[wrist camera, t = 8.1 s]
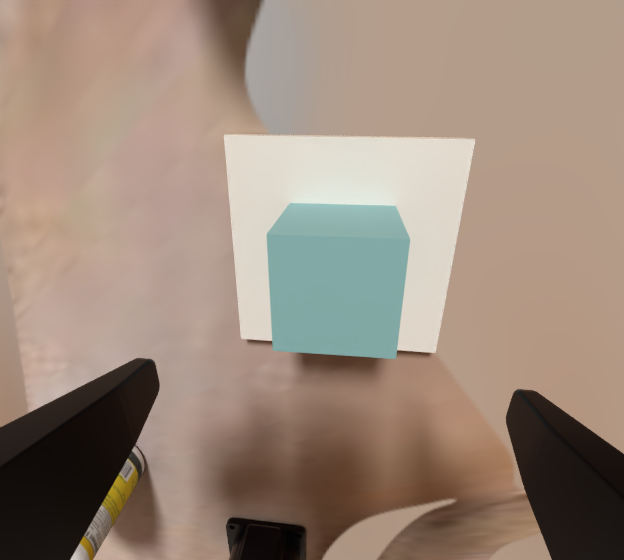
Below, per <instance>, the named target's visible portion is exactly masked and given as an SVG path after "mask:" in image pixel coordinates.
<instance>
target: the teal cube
mask: <svg viewBox="0 0 624 560" xmlns="http://www.w3.org/2000/svg"><path fill="white" fill-rule="evenodd" d="M409 246H410V237H409V235H408V233H407V230H406V228H405V226H404V224H403V221H402V219H401V217H400V214H399V212H398V210H397V207H396V206H386V205H347V204H309V203H289V205H288V206H287V208H286V209H285V210H284V212H283V213H282V214H281V216H280V217H279V218H278V220H277V221H276V222H275V224H274V225H273V226H272V228H271V229H270V230H269V232H268V233H267V252H268V271H269V290H270V308H271V327H272V345H273V351H285V352H300V353H314V354H329V355H344V356H359V357H374V358H388V359H396V354H397V346H398V338H399V329H400V321H401V313H402V304H403V296H404V288H405V279H406V271H407V263H408V254H409Z"/></svg>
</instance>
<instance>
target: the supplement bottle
mask: <svg viewBox="0 0 624 560" xmlns="http://www.w3.org/2000/svg"><path fill="white" fill-rule="evenodd" d="M143 471H144V460H143V457H142V455H141V453H140V451H139V450H138V449H137V447H136V446H134V448H133V450H132V452H131V454H130V455H129V457H128V459H127V461H126V463H125V464H124V466H123V468H122V470H121V471H120V473H119V475H118V477H117V478H116V480H115V482H114V484H113V485H112V487H111V489H110V491H109V493H108V494H107V496H106V498H105V500H104V501H103V503H102V505H101V507H100V508H99V510H98V512H97V514H96V515H95V517H94V519H93V521H92V522H91V524H90V526H89V528H88V530H87V531H86V533H85V535H84V537H83V538H82V540H81V542H80V544H79V545H78V547H77V549H76V551H75V552H74V554H73V556H72V558H71V559H70V560H93V558H94V557H95V555H96V553H97V551H98V550H99V548H100V546H101V545H102V543H103V541H104V539H105V538H106V536H107V534H108V533H109V531H110V529H111V527H112V526H113V524H114V522H115V521H116V519H117V517H118V516H119V514H120V512H121V510H122V509H123V507H124V505H125V503H126V502H127V500H128V498H129V497H130V495H131V493H132V491H133V490H134V488H135V486H136V484H137V483H138V481H139V479H140V477H141V476H142V474H143Z"/></svg>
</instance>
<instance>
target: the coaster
mask: <svg viewBox="0 0 624 560" xmlns="http://www.w3.org/2000/svg"><path fill="white" fill-rule="evenodd" d="M224 142H225V154H226V166H227V178H228V190H229V201H230V213H231V225H232V237H233V249H234V260H235V272H236V284H237V296H238V308H239V319H240V331H241V339H252V340H266V341H272V327H271V308H270V290H269V271H268V252H267V233H268V232H269V230H270V229H271V228H272V226H273V225H274V224H275V222H276V221H277V220H278V218H279V217H280V216H281V214H282V213H283V212H284V210H285V209H286V208H287V206H288V205H289V203H309V204H347V205H386V206H396V207H397V210H398V212H399V214H400V217H401V219H402V221H403V224H404V226H405V228H406V230H407V233H408V235H409V237H410V246H409V254H408V263H407V271H406V279H405V288H404V296H403V304H402V313H401V321H400V329H399V338H398V346H397V350H402V351H416V352H429V353H436V347H437V342H438V337H439V331H440V326H441V321H442V315H443V310H444V304H445V299H446V294H447V289H448V283H449V278H450V272H451V267H452V262H453V256H454V251H455V246H456V240H457V235H458V230H459V224H460V219H461V214H462V208H463V203H464V197H465V192H466V187H467V181H468V176H469V171H470V166H471V160H472V155H473V149H474V144H475V139H471V138H437V137H380V136H376V137H375V136H325V135H319V136H318V135H269V134H226V135H224Z"/></svg>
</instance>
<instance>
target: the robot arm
mask: <svg viewBox="0 0 624 560" xmlns="http://www.w3.org/2000/svg"><path fill="white" fill-rule="evenodd" d="M159 387H160V384H159V379H158V374H157V369H156V365H155V362H154V361H153V360H152V359H145V358H136V359H134V360H132V361H130V362H128V363H126V364H124V365H122V366H120V367H118V368H116V369H115V370H113V371H111V372H109V373H107V374H105V375H103V376H101V377H99V378H97V379H95V380H93V381H91V382H89V383H87V384H85V385H83V386H81V387H79V388H77V389H75V390H73V391H71V392H69V393H67V394H65V395H63V396H61V397H59V398H57V399H55V400H54V401H52V402H50V403H48V404H46V405H44V406H42V407H40V408H38V409H36V410H34V411H32V412H30V413H28V414H26V415H24V416H22V417H20V418H18V419H16V420H14V421H12V422H10V423H8V424H6V425H5V426H2V427H0V560H70V559H71V558H72V556H73V554H74V552H75V551H76V549H77V547H78V545H79V544H80V542H81V540H82V538H83V537H84V535H85V533H86V531H87V530H88V528H89V526H90V524H91V522H92V521H93V519H94V517H95V515H96V514H97V512H98V510H99V508H100V507H101V505H102V503H103V501H104V500H105V498H106V496H107V494H108V493H109V491H110V489H111V487H112V485H113V484H114V482H115V480H116V478H117V477H118V475H119V473H120V471H121V470H122V468H123V466H124V464H125V463H126V461H127V459H128V457H129V455H130V454H131V452H132V450H133V448H134V446H135V444H136V442H137V440H138V438H139V435H140V433H141V431H142V429H143V426H144V424H145V422H146V420H147V417H148V415H149V413H150V411H151V408H152V406H153V404H154V402H155V399H156V397H157V395H158V392H159ZM506 424H507V428H508V432H509V435H510V439H511V442H512V446H513V450H514V453H515V457H516V461H517V464H518V468H519V471H520V475H521V479H522V482H523V485H524V489H525V491H526V494H527V497H528V500H529V502H530V505H531V507H532V510H533V512H534V515H535V518H536V520H537V523H538V525H539V528H540V530H541V533H542V535H543V538H544V540H545V543H546V546H547V548H548V550H549V553H550V556H551V558H552V560H624V454H623V453H622V452H620V451H619V450H618V449H616V448H615V447H613V446H612V445H611V444H609V443H608V442H606V441H605V440H603V439H602V438H601V437H599V436H598V435H597V434H595V433H594V432H592V431H591V430H590V429H588V428H587V427H585V426H584V425H583V424H581V423H580V422H578V421H577V420H575V419H574V418H573V417H571V416H570V415H569V414H567V413H566V412H564V411H563V410H561V409H560V408H559V407H557V406H556V405H554V404H553V403H552V402H550V401H549V400H547V399H546V398H545V397H543V396H542V395H540V394H539V393H538V392H536V391H533V390H523V389H518V390H516V391H515V392H514V393H513V396H512V399H511V402H510V405H509V408H508V411H507V415H506ZM226 530H227V537H228V544H229V551H230V558H229V560H306V531H305V529H304V528H302V527H298V526H290V525H282V524H274V523H266V522H257V521H249V520H241V519H229V520H228V521H227V524H226Z"/></svg>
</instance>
